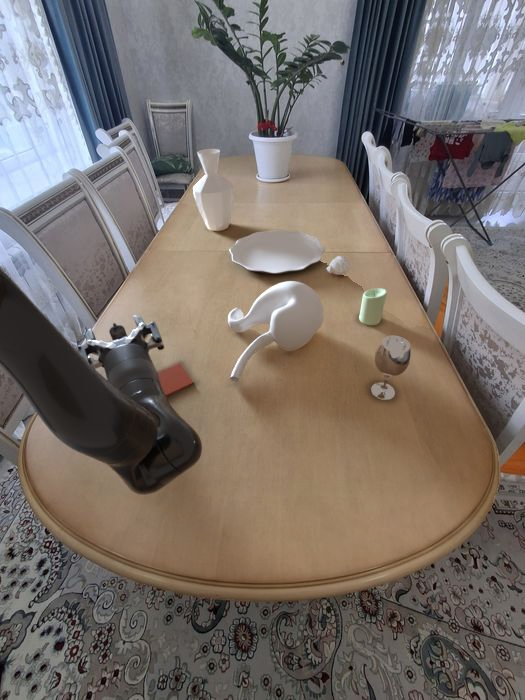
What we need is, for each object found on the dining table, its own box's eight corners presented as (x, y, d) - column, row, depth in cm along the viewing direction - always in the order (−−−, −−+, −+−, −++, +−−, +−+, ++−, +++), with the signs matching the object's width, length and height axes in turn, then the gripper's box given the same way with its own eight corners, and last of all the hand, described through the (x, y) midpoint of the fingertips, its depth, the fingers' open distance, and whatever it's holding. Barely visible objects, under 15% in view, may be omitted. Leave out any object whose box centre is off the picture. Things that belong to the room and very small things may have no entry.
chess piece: (116, 362, 77) (97, 318, 69) (143, 354, 78) (127, 311, 70) (119, 380, 73) (98, 335, 65) (147, 371, 74) (131, 327, 66)
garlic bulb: (321, 274, 101) (323, 256, 98) (338, 268, 103) (340, 251, 100) (333, 282, 98) (334, 264, 94) (350, 276, 99) (352, 259, 96)
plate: (311, 285, 97) (312, 277, 95) (215, 272, 105) (214, 265, 103) (331, 240, 117) (331, 233, 116) (249, 232, 125) (249, 226, 124)
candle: (355, 321, 84) (360, 291, 79) (364, 311, 87) (369, 282, 81) (375, 328, 82) (381, 298, 76) (383, 317, 85) (390, 288, 79)
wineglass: (397, 406, 64) (413, 358, 56) (365, 398, 66) (376, 351, 58) (399, 384, 68) (414, 337, 60) (369, 377, 70) (380, 330, 62)
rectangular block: (180, 364, 75) (179, 362, 75) (193, 383, 71) (193, 382, 71) (95, 401, 68) (94, 400, 68) (104, 425, 64) (103, 424, 64)
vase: (235, 233, 125) (228, 155, 109) (196, 234, 126) (183, 158, 109) (238, 218, 136) (231, 145, 119) (202, 219, 136) (190, 147, 120)
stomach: (244, 324, 92) (222, 400, 76) (222, 284, 83) (193, 361, 67) (330, 310, 84) (326, 392, 68) (317, 264, 75) (309, 346, 59)
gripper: (170, 345, 57) (145, 298, 68) (77, 377, 52) (66, 321, 63) (179, 377, 62) (154, 328, 73) (96, 409, 57) (82, 352, 68)
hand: (113, 325), depth 68 cm, fingers open, 8 cm apart
